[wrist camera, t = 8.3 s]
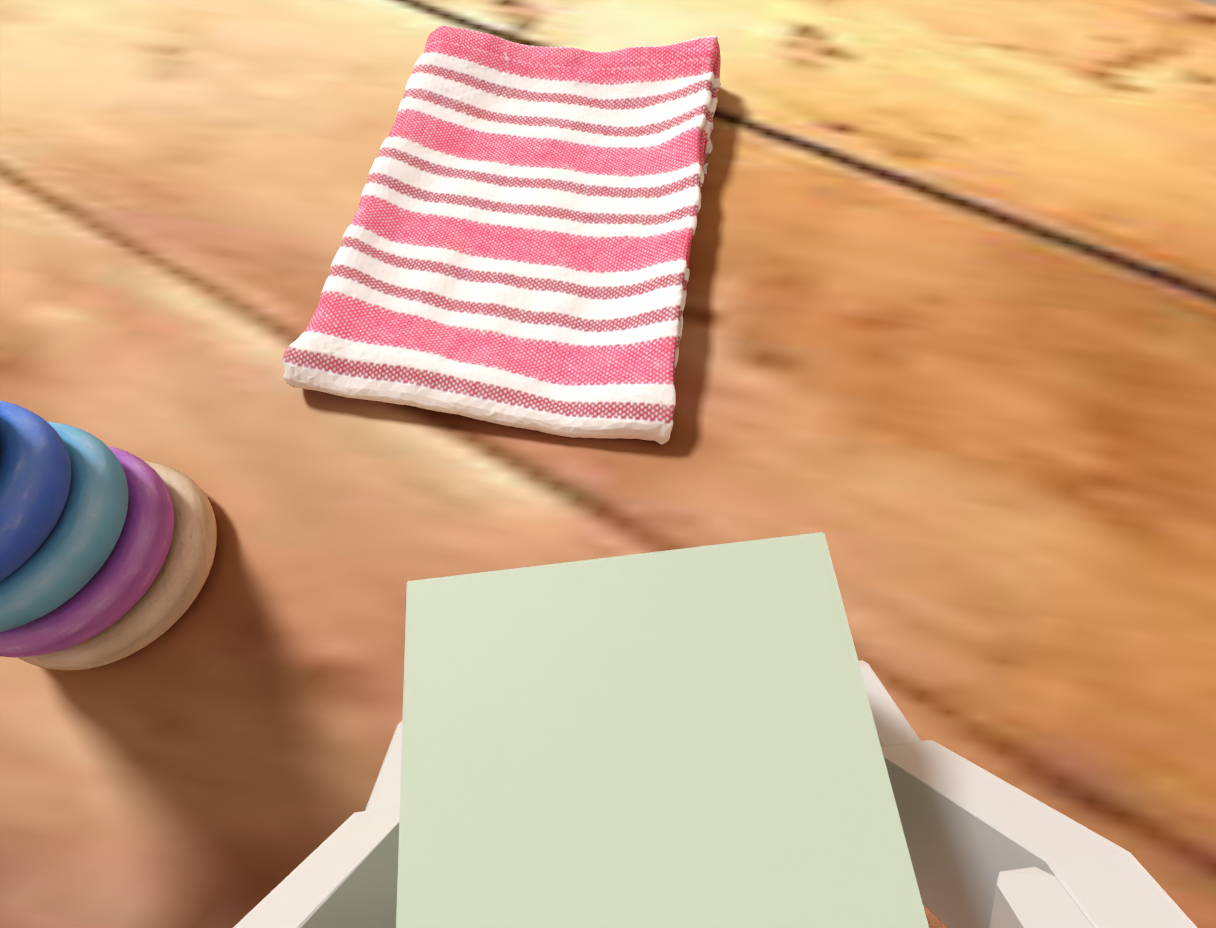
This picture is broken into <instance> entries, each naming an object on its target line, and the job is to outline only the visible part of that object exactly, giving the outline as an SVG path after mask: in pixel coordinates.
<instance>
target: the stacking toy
mask: <svg viewBox="0 0 1216 928" xmlns="http://www.w3.org/2000/svg"><path fill="white" fill-rule="evenodd" d="M216 542H217V527H216V520H215V515H214V512H213V509H212V506H211V504H210V502H209V500H208V498H207V496H206V495H205V493H204V492H203V491H202V489H201V488H200V487H199V486H198V485H197V484H196V483H195V482H194V481H193V480H192V479H190V478H189V477H188V476H186V475H185V474H183V473H181V472H180V471H178V470H176V469H173V468H171V467H168V466H166V465H162V464H158V463H153V462H145V461H143V460H141V459H140V458H138V457H136V456H135V455H132V454H130V453H128V452H126V451H123V450H120V449H117V448H113V447H108V446H106V445H105V444H104V443H103V442H102V441H101V440H99V439H98V438H96V437H94V436H93V435H91V434H90V433H88V432H85V431H83V430H81V429H78V428H76V427H73V426H69V425H65V424H60V423H54V422H47V421H45V420H44V419H43V418H41V417H40V416H38V415H36V414H35V413H33V412H31V411H29V410H27V409H25V408H23V407H20V406H18V405H15V404H11V403H8V402H4V401H0V656H4V657H18V658H20V659H22V660H24V661H26V662H28V663H30V664H33V665H36V666H39V667H43V668H48V669H54V670H82V669H90V668H95V667H99V666H103V665H107V664H110V663H113V662H115V661H118V660H120V659H123V658H125V657H127V656H129V655H131V654H133V653H135V652H137V651H139V650H140V649H142V648H144V647H145V646H147V645H149V644H150V643H151V642H153V641H154V640H156V639H157V638H158V637H160V636H161V635H162V634H163V633H165V632H166V631H167V630H168V629H169V628H170V627H171V626H172V625H173V624H174V623H175V622H177V621H178V620H179V618H180V617H181V616H182V615H183V614H184V613H185V612H186V611H187V609H188V608H189V607H190V605H191V604H192V603H193V601H194V600H195V598H196V597H197V595H198V594H199V592H200V590H201V589H202V587H203V585H204V583H205V581H206V579H207V577H208V575H209V572H210V569H211V567H212V564H213V560H214V556H215V550H216Z"/></svg>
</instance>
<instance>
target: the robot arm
mask: <svg viewBox="0 0 1216 928" xmlns="http://www.w3.org/2000/svg"><path fill="white" fill-rule="evenodd" d="M858 662H859V666H860V670H861V674H862V677H863V681H864V685H865V689H866V692H867V696H868V700H869V704H870V707H871V711H872V715H873V719H874V722H875V726H876V730H877V734H878V738H879V741H880V745H881V749H882V753H883V756H884V760H885V764H886V768H887V771H888V775H889V779H890V783H891V786H892V790H893V794H894V798H895V802H896V805H897V809H898V813H899V817H900V820H901V824H902V828H903V832H904V835H905V839H906V843H907V847H908V851H909V854H910V858H911V862H912V866H913V869H914V873H915V877H916V881H917V884H918V888H919V892H920V896H921V899H922V903H923V905H924V906H926V907H927V908H928V909H929V910H930V911H931V912H932V913H933V914H934V915H935V916H936V917H937V918H938V919H940V920H941V921H942V922H943V923H944V924H945V925H946V926H947V927H948V928H1197V927H1196V926H1195V925H1194V924H1193V922H1192V921H1191V920H1190V919H1189V918H1188V917H1187V916H1186V915H1185V914H1184V912H1183V911H1182V910H1181V909H1180V908H1179V907H1178V906H1177V905H1176V903H1175V902H1174V901H1173V900H1172V899H1171V898H1170V897H1169V896H1168V894H1167V893H1166V892H1165V891H1164V890H1163V889H1162V888H1161V887H1160V885H1159V884H1158V883H1157V882H1156V881H1155V880H1154V879H1153V878H1152V877H1151V875H1150V874H1149V873H1148V872H1147V871H1146V870H1145V869H1144V868H1143V866H1142V865H1141V864H1140V863H1139V862H1138V861H1137V860H1136V859H1135V857H1134V856H1133V855H1132V854H1131V853H1130V852H1128V851H1126V850H1125V849H1123V848H1121V847H1119V846H1118V845H1116V844H1114V843H1112V842H1111V841H1109V840H1107V839H1105V838H1104V837H1102V836H1100V835H1098V834H1097V833H1095V832H1093V831H1091V830H1090V829H1088V828H1086V827H1084V826H1082V825H1081V824H1079V823H1077V822H1075V821H1074V820H1072V819H1070V818H1068V817H1067V816H1065V815H1063V814H1061V813H1060V812H1058V811H1056V810H1054V809H1053V808H1051V807H1049V806H1047V805H1046V804H1044V803H1042V802H1040V801H1039V800H1037V799H1035V798H1033V797H1031V796H1030V795H1028V794H1026V793H1024V792H1023V791H1021V790H1019V789H1017V788H1016V787H1014V786H1012V785H1010V784H1009V783H1007V782H1005V781H1003V780H1002V779H1000V778H998V777H996V776H995V775H993V774H991V773H989V772H988V771H986V770H984V769H982V768H981V767H979V766H977V765H975V764H973V763H972V762H970V761H968V760H966V759H965V758H963V757H961V756H959V755H958V754H956V753H954V752H952V751H951V750H949V749H947V748H945V747H944V746H942V745H940V744H938V743H937V742H935V741H933V740H927V741H921V739H920V738H919V737H918V735H917V734H916V732H915V731H914V729H913V728H912V726H911V725H910V723H909V722H908V721H907V719H906V718H905V716H904V715H903V713H902V712H901V710H900V709H899V707H898V706H897V705H896V703H895V702H894V700H893V699H892V697H891V696H890V694H889V693H888V691H887V690H886V689H885V687H884V686H883V684H882V683H881V681H880V680H879V678H878V677H877V675H876V674H875V673H874V671H873V670H872V668H871V667H870V665H869V664H868V663H866V662H865V661H863V660H861V661H858ZM402 724H403V720H402V721H401V722H400V723H399V724H398V726H397V727H396V730H395V733H394V735H393V738H392V741H391V743H390V746H389V749H388V751H387V754H386V756H385V759H384V762H383V764H382V767H381V770H380V772H379V775H378V778H377V780H376V783H375V785H374V788H373V791H372V793H371V796H370V799H369V801H368V804H367V806H366V809H365V811H362V812H355V813H353V814H352V815H351V816H350V817H349V818H348V819H347V820H346V821H345V822H344V823H343V824H342V825H341V826H340V827H339V828H338V829H337V830H336V831H334V832H333V833H332V834H331V835H330V836H329V837H328V838H327V839H326V840H325V841H324V842H323V843H322V844H321V845H320V846H319V847H318V848H317V849H316V850H314V851H313V852H312V853H311V854H310V855H309V856H308V857H307V858H306V859H305V860H304V861H303V862H302V863H301V864H300V865H299V866H298V867H297V868H295V869H294V870H293V871H292V872H291V873H290V874H289V875H288V876H287V877H286V878H285V879H284V880H283V881H282V882H281V883H280V884H279V885H278V886H276V887H275V888H274V889H273V890H272V891H271V892H270V893H269V894H268V895H267V896H266V897H265V898H264V899H263V900H262V901H261V902H260V903H259V904H257V905H256V906H255V907H254V908H253V909H252V910H251V911H250V912H249V913H248V914H247V915H246V916H245V917H244V918H243V919H242V920H241V921H240V922H238V923H237V924H236V925H235V926H234V927H233V928H396V912H397V880H398V849H399V818H400V787H401V755H402Z"/></svg>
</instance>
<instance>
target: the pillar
mask: <svg viewBox="0 0 1216 928" xmlns="http://www.w3.org/2000/svg"><path fill="white" fill-rule="evenodd" d="M396 928H929V926H928V922H927V918H926V915H925V911H924V907H923V903H922V899H921V896H920V892H919V888H918V884H917V881H916V877H915V873H914V869H913V866H912V862H911V858H910V854H909V851H908V847H907V843H906V839H905V835H904V832H903V828H902V824H901V820H900V817H899V813H898V809H897V805H896V802H895V798H894V794H893V790H892V786H891V783H890V779H889V775H888V771H887V768H886V764H885V760H884V756H883V753H882V749H881V745H880V741H879V738H878V734H877V730H876V726H875V722H874V719H873V715H872V711H871V707H870V704H869V700H868V696H867V692H866V689H865V685H864V681H863V677H862V674H861V670H860V666H859V662H858V658H857V655H856V651H855V647H854V643H853V640H852V636H851V632H850V628H849V625H848V621H847V617H846V613H845V610H844V606H843V602H842V598H841V594H840V591H839V587H838V583H837V579H836V576H835V572H834V568H833V564H832V561H831V557H830V553H829V549H828V546H827V542H826V538H825V534H824V532H820V533H812V534H803V535H795V536H786V537H778V538H769V539H761V540H753V541H744V542H736V543H727V544H719V545H710V546H702V547H693V548H685V549H677V550H668V551H660V552H651V553H643V554H634V555H626V556H617V557H609V558H600V559H592V560H584V561H575V562H567V563H558V564H550V565H541V566H533V567H524V568H516V569H507V570H499V571H491V572H482V573H474V574H465V575H457V576H448V577H440V578H431V579H423V580H415V581H407V599H406V630H405V662H404V693H403V724H402V755H401V787H400V818H399V849H398V880H397V912H396Z"/></svg>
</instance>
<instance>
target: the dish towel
mask: <svg viewBox="0 0 1216 928" xmlns="http://www.w3.org/2000/svg"><path fill="white" fill-rule="evenodd" d="M720 85H721V84H720V49H719V44H718V41H717V37H716V36H708V37H702V38H695V39H691V40H687V41H684V42H679V43H675V44H671V45H666V46H642V47H630V48H625V49H620V50H617V51H612V52H591V51H587V50H582V49H577V48H569V47H537V46H528V45H522V44H518V43H514V42H510V41H507V40H504V39H502V38H499V37H497V36H494V35H491V34H487V33H482V32H477V31H473V30H467V29H460V28H454V27H449V26H441V27H439V28H437V29H436V30H435V31H433V32H432V33H430V35H429V37H428V40H427V42H426V46H425V51H424V53H423V54H422V55H421V56H420V57H419V59H418V60H417V62H416V64H415V66H414V70H413V72H412V74H411V76H410V77H409V80H408V82H407V85H406V89H405V93H404V97H403V99H402V100H401V103H400V106H399V109H398V115H397V118H396V120H395V123H394V125H393V127H392V129H391V131H390V134H389V136H388V137H387V138H386V139H385V140H384V142H383V143H382V145H381V148H380V150H379V154H378V156H377V158H376V159H375V160H374V163H373V166H372V168H371V170H370V173H369V176H368V182H367V183H366V185H365V187H364V190H363V192H362V195H361V201H360V204H359V207H358V209H357V212H356V214H355V216H354V218H353V220H352V222H351V224H350V226H349V227H348V228H347V230H346V232H345V234H344V235H343V241H342V244H341V246H340V247H339V249H338V251H337V254H336V256H335V258H334V260H333V262H332V265H331V271H330V273H329V276H328V278H327V280H326V282H325V285H324V288H323V290H322V293H321V298H320V302H319V304H318V306H317V309H316V311H315V313H314V315H313V317H312V319H311V321H310V323H309V325H308V327H307V329H306V331H305V332H304V333H303V334H302V335H301V336H300V337H299V338H298V339H297V340H296V341H294V342H293V343H292V344H291V345H290V346H289V347H287V349H286V351H285V353H284V356H283V359H282V364H283V366H284V367H285V375H284V378H285V381H286V383H287V384H289V385H290V386H292V387H294V388H303V389H308V390H316V391H320V392H326V393H330V394H333V395H338V396H343V397H347V398H356V399H364V400H371V401H381V402H386V403H393V404H399V405H410V406H415V407H419V408H423V409H428V410H432V411H438V412H445V413H450V414H458V415H462V416H466V417H469V418H473V419H477V420H484V421H487V422H491V423H497V424H501V425H505V426H512V427H517V428H525V429H530V430H538V431H540V432H544V433H549V434H554V435H559V436H566V437H573V438H576V437H581V438H609V439H617V438H623V439H642V440H652V441H655V442H657V443H659V444H664V443H666V442H667V441H669V439H670V433H671V430H672V427H673V413H674V408H675V404H676V392H675V388H674V374H675V369H676V366H677V362H678V357H679V345H680V340H681V337H682V328H683V310H684V307H685V299H686V295H687V291H686V286H687V283H688V280H689V275H690V270H689V267H688V265H689V257H690V250H691V242H692V237H693V236H694V234H695V230H696V227H697V215H698V213H699V210H700V208H701V188H702V185H703V181H704V174H707V169H706V167H707V166H708V163H706V164H704V166H703V163H705V162H706V161H705V158H707V156H708V155H710V154H711V151H712V149H713V147H712V142H711V139H710V135H711V133H712V132H713V127H714V125H713V121H712V119H713V115H714V113H715V110H716V104H717V102H718V99H717V94H718V91H719V87H720Z"/></svg>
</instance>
